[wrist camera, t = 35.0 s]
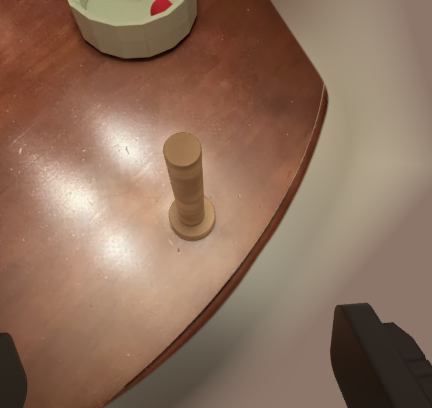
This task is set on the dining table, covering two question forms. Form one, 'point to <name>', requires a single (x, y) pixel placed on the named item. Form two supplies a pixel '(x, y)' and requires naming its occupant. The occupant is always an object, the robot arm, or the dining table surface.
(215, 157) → the dining table surface
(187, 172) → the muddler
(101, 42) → the bowl
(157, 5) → the red ball
